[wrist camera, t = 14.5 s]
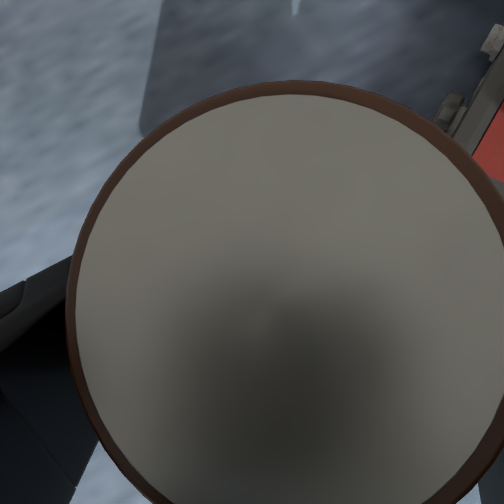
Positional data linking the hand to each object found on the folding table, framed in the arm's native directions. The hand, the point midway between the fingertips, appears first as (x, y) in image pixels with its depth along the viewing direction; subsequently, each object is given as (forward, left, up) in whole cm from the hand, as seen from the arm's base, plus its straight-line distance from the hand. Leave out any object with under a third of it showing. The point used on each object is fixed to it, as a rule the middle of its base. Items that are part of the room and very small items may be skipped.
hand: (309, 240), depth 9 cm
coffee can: (-1, +1, -7) cm, 7 cm away
